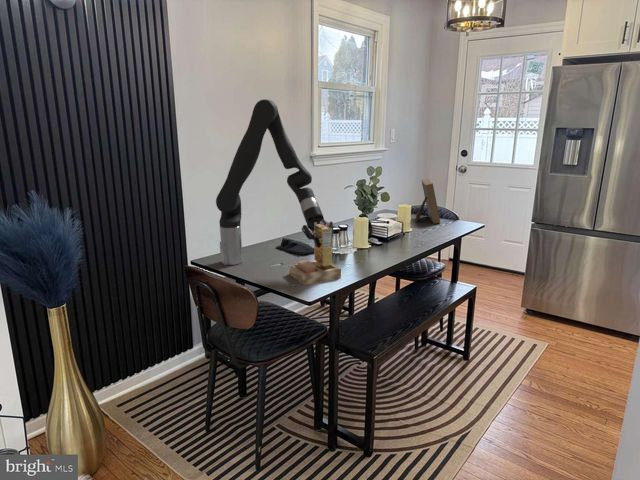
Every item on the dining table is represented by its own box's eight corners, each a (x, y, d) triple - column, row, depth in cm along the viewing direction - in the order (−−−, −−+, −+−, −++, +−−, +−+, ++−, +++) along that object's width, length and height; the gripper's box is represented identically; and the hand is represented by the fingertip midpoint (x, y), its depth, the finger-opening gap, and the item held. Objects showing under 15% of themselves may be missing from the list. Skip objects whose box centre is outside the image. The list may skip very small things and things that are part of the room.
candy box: (314, 260, 185) (313, 224, 181) (323, 258, 187) (322, 223, 183) (323, 266, 177) (322, 229, 173) (332, 264, 179) (332, 227, 175)
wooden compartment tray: (303, 288, 173) (303, 275, 171) (289, 277, 185) (289, 264, 183) (340, 281, 180) (341, 268, 178) (324, 271, 192) (324, 259, 190)
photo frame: (435, 216, 295) (437, 178, 288) (440, 223, 274) (442, 183, 267) (412, 216, 296) (413, 178, 290) (415, 223, 276) (417, 183, 269)
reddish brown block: (306, 281, 176) (306, 266, 174) (297, 275, 183) (297, 261, 181) (315, 279, 178) (315, 265, 176) (306, 273, 184) (306, 259, 183)
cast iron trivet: (297, 258, 211) (297, 249, 210) (273, 248, 228) (273, 239, 227) (323, 252, 219) (323, 243, 218) (298, 243, 237) (298, 234, 235)
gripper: (298, 207, 180) (311, 243, 172) (329, 204, 186) (343, 238, 178) (293, 217, 186) (306, 253, 178) (323, 214, 192) (337, 248, 184)
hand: (325, 245), depth 178 cm, fingers closed on candy box, 4 cm apart
